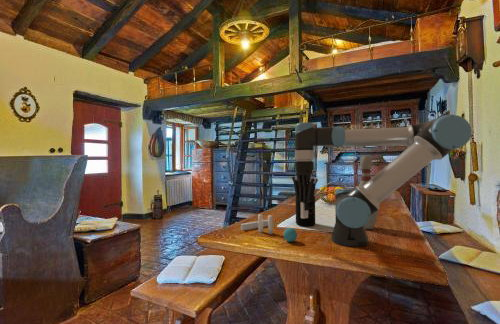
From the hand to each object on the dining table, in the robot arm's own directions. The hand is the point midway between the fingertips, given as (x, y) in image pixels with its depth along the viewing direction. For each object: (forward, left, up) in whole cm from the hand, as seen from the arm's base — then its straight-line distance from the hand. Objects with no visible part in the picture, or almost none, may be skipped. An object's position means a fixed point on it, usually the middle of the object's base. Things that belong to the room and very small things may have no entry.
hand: (304, 217), depth 107 cm
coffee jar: (+27, -26, -13) cm, 40 cm away
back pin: (+29, +2, -12) cm, 32 cm away
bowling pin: (+4, -47, -13) cm, 49 cm away
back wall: (+37, 0, -12) cm, 39 cm away
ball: (+9, 0, -9) cm, 13 cm away
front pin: (+24, 0, -12) cm, 27 cm away
